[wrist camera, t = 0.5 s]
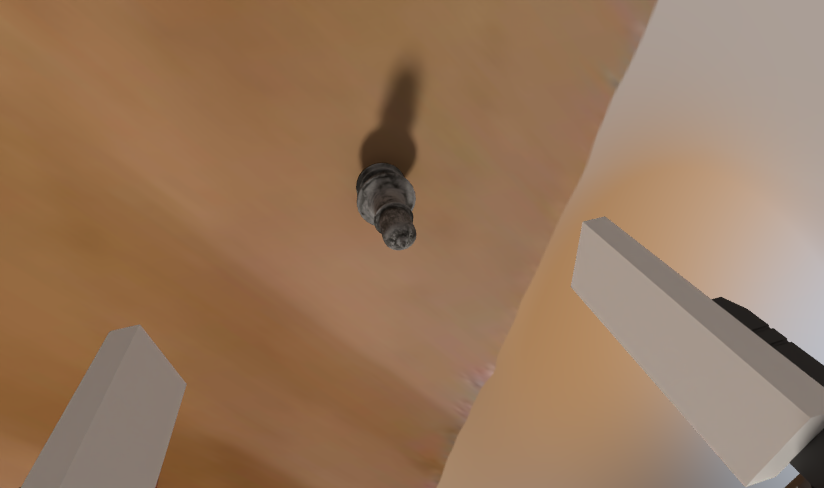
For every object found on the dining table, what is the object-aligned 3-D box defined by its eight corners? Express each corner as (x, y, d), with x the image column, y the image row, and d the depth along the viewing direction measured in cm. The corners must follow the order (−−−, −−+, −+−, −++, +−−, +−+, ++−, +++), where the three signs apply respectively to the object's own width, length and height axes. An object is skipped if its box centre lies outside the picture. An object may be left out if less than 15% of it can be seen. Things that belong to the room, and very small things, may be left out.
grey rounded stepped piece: (352, 161, 38) (366, 217, 28) (409, 159, 39) (442, 212, 29) (354, 213, 41) (368, 279, 31) (407, 209, 42) (436, 272, 33)
